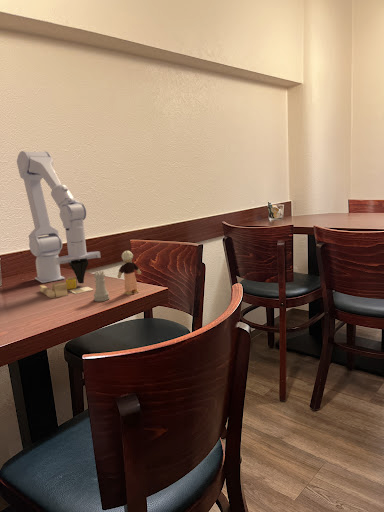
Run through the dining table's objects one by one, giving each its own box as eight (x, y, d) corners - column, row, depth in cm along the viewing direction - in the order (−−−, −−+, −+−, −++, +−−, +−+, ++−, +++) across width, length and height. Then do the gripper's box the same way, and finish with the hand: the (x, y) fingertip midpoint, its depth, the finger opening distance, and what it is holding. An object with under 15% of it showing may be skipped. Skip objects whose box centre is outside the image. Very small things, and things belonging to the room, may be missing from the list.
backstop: (40, 291, 127) (39, 285, 127) (43, 290, 128) (43, 284, 128) (51, 298, 118) (50, 292, 118) (55, 297, 119) (54, 291, 118)
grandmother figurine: (135, 289, 123) (131, 248, 121) (144, 290, 121) (140, 249, 118) (116, 295, 117) (112, 252, 115) (125, 297, 115) (121, 253, 112)
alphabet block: (77, 285, 131) (76, 276, 130) (76, 288, 128) (75, 279, 127) (68, 287, 131) (66, 277, 130) (66, 289, 127) (65, 280, 127)
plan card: (69, 290, 125) (69, 290, 125) (87, 287, 129) (87, 286, 129) (74, 294, 121) (74, 293, 121) (93, 289, 125) (93, 289, 125)
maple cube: (52, 295, 122) (51, 283, 121) (63, 292, 124) (62, 281, 123) (56, 297, 119) (54, 285, 118) (67, 294, 121) (66, 283, 120)
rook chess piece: (106, 302, 111) (103, 274, 110) (91, 302, 112) (88, 274, 111) (112, 297, 116) (109, 270, 114) (97, 297, 116) (95, 270, 115)
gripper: (57, 245, 121) (62, 289, 124) (102, 239, 129) (106, 280, 132) (50, 243, 127) (55, 285, 129) (93, 237, 135) (97, 277, 138)
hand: (80, 282), depth 131 cm, fingers closed
